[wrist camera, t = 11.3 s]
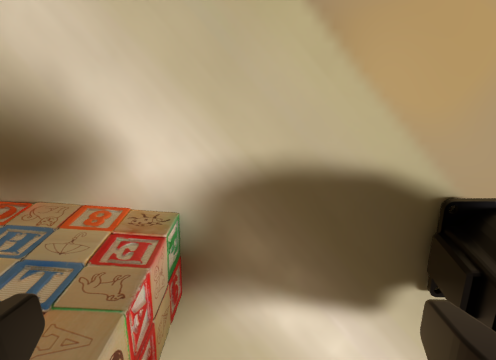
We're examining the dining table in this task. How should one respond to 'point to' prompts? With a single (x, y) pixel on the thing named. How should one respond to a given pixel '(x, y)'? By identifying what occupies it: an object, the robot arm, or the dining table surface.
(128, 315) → the stack of blocks
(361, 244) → the dining table surface
